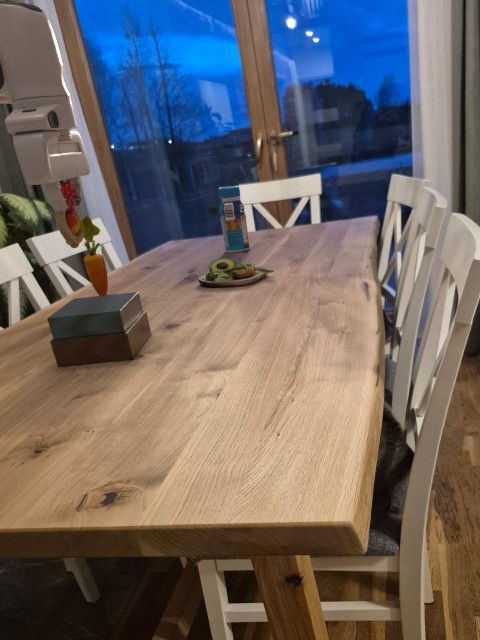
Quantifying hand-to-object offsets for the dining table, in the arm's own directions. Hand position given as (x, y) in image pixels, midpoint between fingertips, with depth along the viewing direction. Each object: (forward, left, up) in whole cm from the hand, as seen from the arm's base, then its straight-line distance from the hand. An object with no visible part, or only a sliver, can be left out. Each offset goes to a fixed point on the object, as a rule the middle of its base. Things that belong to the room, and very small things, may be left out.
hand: (69, 208), depth 100 cm
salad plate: (+19, +49, -26) cm, 59 cm away
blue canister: (+16, +91, -26) cm, 96 cm away
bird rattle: (0, 0, -7) cm, 7 cm away
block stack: (0, 0, -26) cm, 26 cm away
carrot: (-14, +42, -26) cm, 51 cm away
